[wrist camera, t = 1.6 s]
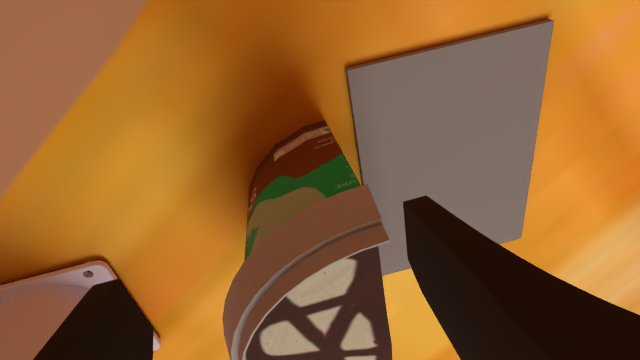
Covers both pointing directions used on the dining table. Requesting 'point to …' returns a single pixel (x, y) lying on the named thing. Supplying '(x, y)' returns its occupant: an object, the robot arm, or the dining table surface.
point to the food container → (309, 260)
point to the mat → (452, 131)
